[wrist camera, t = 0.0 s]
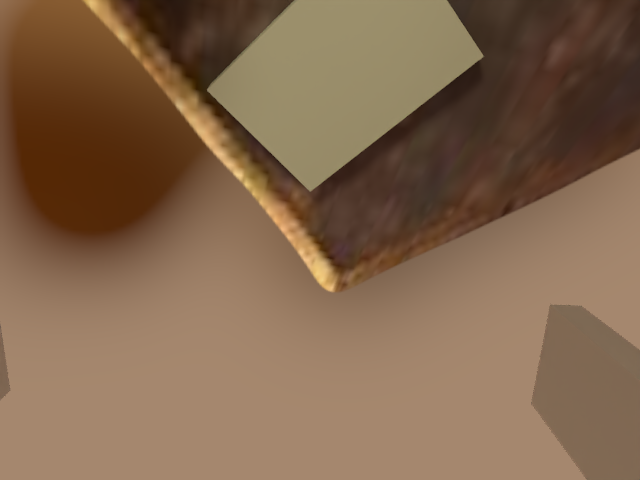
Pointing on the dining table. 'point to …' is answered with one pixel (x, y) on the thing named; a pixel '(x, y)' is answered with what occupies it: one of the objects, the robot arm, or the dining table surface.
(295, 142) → the sage board
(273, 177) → the dining table surface
